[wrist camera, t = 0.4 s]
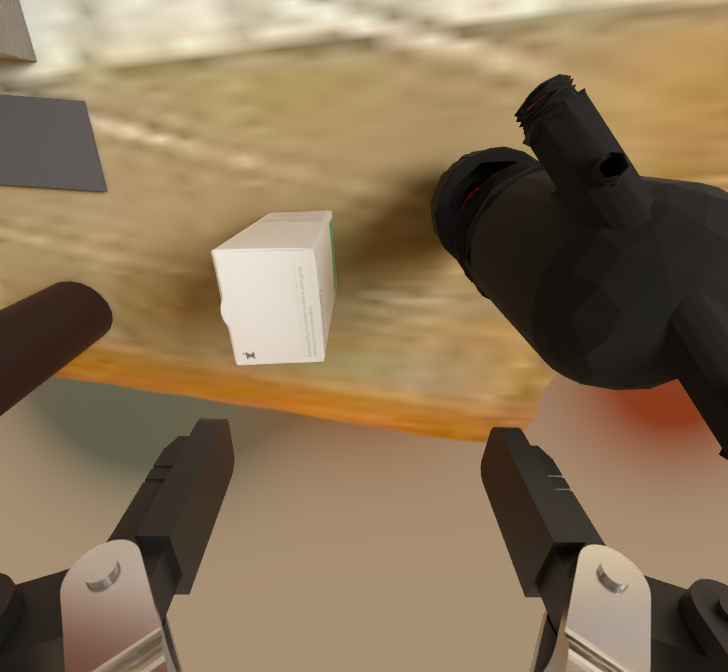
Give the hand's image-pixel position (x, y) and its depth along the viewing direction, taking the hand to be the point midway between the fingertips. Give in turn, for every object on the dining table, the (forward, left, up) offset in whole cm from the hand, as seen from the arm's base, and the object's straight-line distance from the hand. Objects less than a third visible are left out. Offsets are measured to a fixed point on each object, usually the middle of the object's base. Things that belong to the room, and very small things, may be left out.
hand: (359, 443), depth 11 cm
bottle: (+10, -29, -29) cm, 42 cm away
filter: (-5, +10, -29) cm, 31 cm away
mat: (-6, -28, -28) cm, 40 cm away
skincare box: (+2, -5, -29) cm, 29 cm away
